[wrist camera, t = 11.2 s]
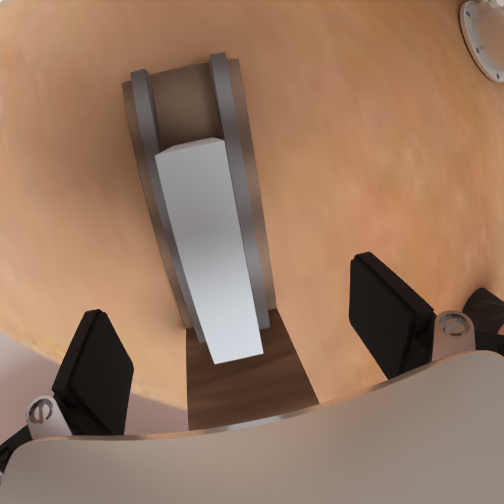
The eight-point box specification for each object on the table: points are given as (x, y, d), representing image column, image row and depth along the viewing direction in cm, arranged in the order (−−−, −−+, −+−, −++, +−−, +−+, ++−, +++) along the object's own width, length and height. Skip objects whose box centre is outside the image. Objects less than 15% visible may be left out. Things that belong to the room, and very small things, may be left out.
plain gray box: (173, 145, 20) (154, 155, 11) (212, 137, 21) (224, 140, 12) (206, 282, 25) (214, 364, 16) (239, 275, 26) (263, 353, 17)
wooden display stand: (126, 86, 19) (28, 32, 5) (235, 62, 20) (297, -30, 6) (190, 330, 29) (197, 467, 15) (274, 311, 30) (329, 437, 16)
